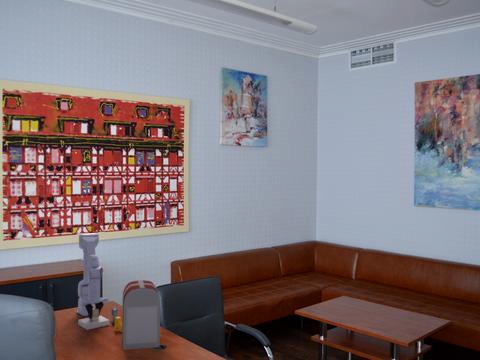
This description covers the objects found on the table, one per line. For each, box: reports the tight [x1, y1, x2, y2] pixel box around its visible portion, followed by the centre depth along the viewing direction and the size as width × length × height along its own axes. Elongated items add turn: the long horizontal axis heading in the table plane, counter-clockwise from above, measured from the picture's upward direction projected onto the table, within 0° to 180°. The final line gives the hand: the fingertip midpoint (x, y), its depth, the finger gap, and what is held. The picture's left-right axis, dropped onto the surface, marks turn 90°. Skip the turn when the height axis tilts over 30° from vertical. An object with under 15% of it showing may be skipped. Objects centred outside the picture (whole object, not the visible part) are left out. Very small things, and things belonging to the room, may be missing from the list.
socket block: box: [77, 314, 110, 331], centre depth 243 cm, size 10×12×2 cm
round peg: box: [110, 307, 119, 324], centre depth 247 cm, size 3×3×7 cm
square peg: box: [90, 307, 99, 322], centre depth 242 cm, size 3×3×7 cm
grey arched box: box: [121, 279, 161, 351], centre depth 221 cm, size 17×18×27 cm
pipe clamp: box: [114, 316, 122, 333], centre depth 234 cm, size 12×4×6 cm, turn 66°
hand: (93, 317), depth 243 cm, fingers closed on square peg, 3 cm apart
